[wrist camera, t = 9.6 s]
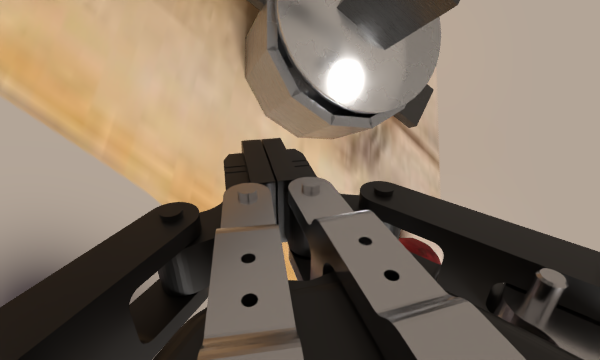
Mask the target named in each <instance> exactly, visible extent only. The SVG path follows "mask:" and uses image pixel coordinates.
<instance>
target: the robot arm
mask: <svg viewBox="0 0 600 360" xmlns="http://www.w3.org/2000/svg"><path fill="white" fill-rule="evenodd" d="M241 143H242V153H239V154H229V155H228V156H227V157H226V158H225V160H224V171H225V184H226V191H225V193H224V195H223V202H222V203H221V204H220V205H218V206H216V207H215V208H212V209H210V210H207V211H204V212H201V213H199V210H198V208H197V207H196V206H195V205H193V204H190V203H185V202H174V203H168V204H164V205H161V206H159V207H157V208H155V209H153V210H151V211H150V212H148V213H147V214H145V215H144V216H142V217H141V218H139V219H138V220H136V221H134V222H133V223H131V224H130V225H128V226H127V227H125V228H123V229H122V230H120V231H119V232H117V233H116V234H114V235H112V236H111V237H109V238H108V239H106V240H105V241H103V242H102V243H100V244H98V245H97V246H95V247H94V248H92V249H91V250H89V251H88V252H86V253H84V254H83V255H81V256H80V257H78V258H77V259H75V260H74V261H72V262H71V263H69V264H67V265H66V266H64V267H63V268H61V269H60V270H58V271H56V272H55V273H53V274H52V275H50V276H49V277H47V278H46V279H44V280H43V281H41V282H39V283H38V284H36V285H35V286H33V287H31V288H30V289H28V290H27V291H25V292H24V293H22V294H21V295H19V296H17V297H16V298H14V299H13V300H11V301H10V302H8V303H6V304H5V305H3V306H2V307H0V360H152V359H153V358H154V359H153V360H600V252H598V251H595V250H591V249H589V248H586V247H583V246H580V245H577V244H574V243H571V242H568V241H565V240H562V239H559V238H556V237H552V236H550V235H547V234H543V233H541V232H537V231H535V230H531V229H528V228H525V227H522V226H519V225H516V224H513V223H510V222H507V221H504V220H501V219H498V218H495V217H492V216H489V215H486V214H483V213H480V212H477V211H474V210H471V209H468V208H465V207H462V206H459V205H456V204H453V203H450V202H447V201H444V200H441V199H438V198H435V197H432V196H429V195H426V194H423V193H420V192H417V191H414V190H411V189H408V188H405V187H402V186H399V185H396V184H393V183H389V182H383V181H373V182H368V183H366V184H364V185H362V186H361V188H360V195H347V194H339V193H338V191H337V190H336V189H335V188H334V187H333V185H332V184H331V183H330V182H328V181H327V180H325V179H322V178H318V177H317V176H316V175H315V173H314V171H313V170H312V168H311V166H310V165H309V163H308V161H307V160H306V158H305V156H304V155H303V153H301V152H299V151H297V150H296V149H287V150H286V148H285V146H284V144H283V142H282V140H281V138H274V139H262V140H247V141H241ZM401 229H402V230H405V231H407V232H410V233H412V234H415V235H417V236H420V237H422V238H425V239H427V240H429V241H432V242H434V243H436V244H437V245H438V246H439V247H440V248H441V249H442V251H443V253H444V259H443V262H442V265H441V264H437V263H435V262H433V261H430V260H428V259H426V258H423V257H421V256H419V255H417V254H414V253H412V252H410V251H408V250H407V249H406V248H405V247H404V246H403V244H402V243H401V242H400V241H399V235H400V230H401ZM281 242H288V245H289V260H290V263H291V265H292V268H293V270H294V272H295V275H296V277H297V280H298V281H294V280H288V278H287V273H286V267H285V261H284V255H283V249H282V243H281ZM157 271H158V274H159V278H160V279H159V280H157V282H155V283H154V284H153V285H152V286H151V287H149V289H148V290H146V291H145V292H144V293H143V294H142V295H140V296H139V297H138V298H137V299H136V300H135V301H134V302H132V303H131V304H130V305H129V302H130V299H131V297H132V295H133V293H134V292H135V290H136V289H137V288H138V287H139V286H140V285H142V284H143V283H144V282H145V281H146V280H148V279H149V278H150V277H151V276H152V275H154V274H155V273H156V272H157ZM207 297H208V305H207V308H205V309H204V310H202V311H200V312H199V313H197V314H196V315H195V316H193V317H192V318H191V319H190V320H188V318H190V316H191V315H192V314H193V313H194V312H195V311H196V310H197V309H198V308H199V307H200V305H201V304H202V303H203V302H204V301H205V300H206V299H207ZM187 320H188V321H187ZM186 321H187V322H186ZM185 322H186V323H185ZM184 323H185V324H184ZM183 324H184V325H183ZM182 325H183V326H182ZM164 345H165V346H164ZM163 346H164V347H163ZM161 349H162V350H161ZM159 351H160V352H159ZM158 352H159V353H158ZM157 353H158V354H157ZM156 354H157V355H156ZM155 355H156V356H155ZM154 356H155V357H154Z"/></svg>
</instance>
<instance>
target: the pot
mask: <svg viewBox="0 0 600 360" xmlns="http://www.w3.org/2000/svg"><path fill="white" fill-rule="evenodd" d="M247 1H249V2H250V3H251V4H252V5H254V6H255V7H256V8H257V9H259V10H260V12H259V13H258V15H257V17H256V19H255V21H254V23H253V25H252V27H251V29H250V31H249V33H248V34H247V36H246V80H247V82H248V84H249V86H250V87H251V89H252V91H253V93H254V95H255V97H256V99H257V100H258V102H259V104H260V106H261V108H262V110H263V112H264V114H265V116H267V117H268V118H270V119H271V120H273V121H274V122H276V123H277V124H279V125H280V126H282V127H283V128H285V129H286V130H288V131H289V132H291V133H292V134H294V135H295V136H297V137H300V138H319V139H335V138H339V137H343V136H346V135H350V134H353V133H357V132H361V131H364V130H368V129H371V128H373V127H375V126H377V125H378V124H380V123H381V122H383V121H385V120H386V119H388V118H390V117H391V116H394V117H396V118H397V119H398V120H400V121H401V122H402V123H403V124H405V125H406V126H407V127H408V128H411V127H415V126H417V124H418V122H419V120H420V118H421V116H422V114H423V111H424V109H425V107H426V105H427V103H428V101H429V99H430V97H431V94H432V92H433V89H432V88H431V87H430V86H429V85H427V84H426V86H425V87H424V88H423V90H422V91H421V92H420V93H419V94H418V95H417V96H416V97H415V98H414V99H412V100H411V101H409V102H408V103H406V104H404V105H402V106H400V107H398V108H396V109H393V110H389V111H386V112H383V113H376V114H361V113H355V112H351V111H348V110H345V109H342V108H340V107H337V106H335V105H333V104H331V103H330V102H328V101H327V100H325V99H324V98H322V97H321V96H319V95H318V94H317V93H316V92H315V91H314V90H312V89H311V88H310V87H309V86H308V85H307V83H306V82H305V81H304V80H303V79H302V78H301V76H300V75H299V74H298V72H297V71H296V70H295V68H294V67H293V65H292V63H291V61H290V60H289V58H288V56H287V54H286V52H285V49H284V47H283V45H282V42H281V38H280V35H279V32H278V27H277V22H276V16H275V0H247Z"/></svg>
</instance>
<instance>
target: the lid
mask: <svg viewBox="0 0 600 360" xmlns="http://www.w3.org/2000/svg"><path fill="white" fill-rule="evenodd" d="M459 1H460V0H275V16H276V22H277V27H278V32H279V35H280V38H281V42H282V45H283V47H284V49H285V52H286V54H287V56H288V58H289V60H290V61H291V63H292V65H293V67H294V68H295V70H296V71H297V72H298V74H299V75H300V76H301V78H302V79H303V80H304V81H305V82H306V83H307V85H308V86H309V87H310V88H311V89H312V90H314V91H315V92H316V93H317V94H318V95H319V96H321V97H322V98H324V99H325V100H327V101H328V102H330V103H331V104H333V105H335V106H337V107H340V108H342V109H345V110H348V111H351V112H355V113H361V114H376V113H383V112H386V111H389V110H393V109H396V108H398V107H400V106H402V105H404V104H406V103H408V102H409V101H411V100H412V99H414V98H415V97H416V96H417V95H418V94H419V93H420V92H421V91H422V90H423V88H424V87H425V86H426V84H427V83H428V81H429V79H430V78H431V76H432V74H433V71H434V69H435V66H436V63H437V60H438V56H439V50H440V40H441V30H440V29H441V28H440V18H439V16H441V15H442V14H444V13H446V12H447V11H449V10H450V9H452V8H454V7H455V6H457V5H458V3H459Z"/></svg>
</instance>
